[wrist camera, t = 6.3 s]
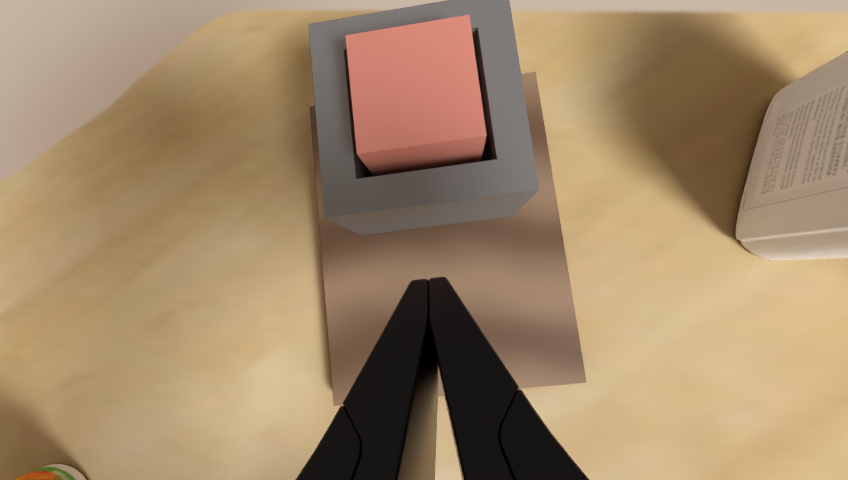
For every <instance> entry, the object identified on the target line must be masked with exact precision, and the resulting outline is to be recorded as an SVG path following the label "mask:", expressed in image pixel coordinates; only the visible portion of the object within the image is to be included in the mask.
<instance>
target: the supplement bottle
mask: <svg viewBox="0 0 848 480" xmlns="http://www.w3.org/2000/svg"><path fill="white" fill-rule="evenodd" d="M14 480H86V478H85V477H84V476H83V475H82V474H81V473H80V472H79V471H78V470H76V469H75V468H73V467H70V466H68V465H64V464H51V465H47V466H44V467H41V468H39V469H36V470H34V471H32V472H29V473H27V474H25V475H23V476H21V477H18V478H16V479H14Z"/></svg>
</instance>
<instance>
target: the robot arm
mask: <svg viewBox="0 0 848 480" xmlns="http://www.w3.org/2000/svg"><path fill="white" fill-rule="evenodd" d="M438 366H439V371H440V376H441V381H442V386H443V391H444V395H445V400H446V405H447V410H448V414H449V419H450V424H451V428H452V433H453V438H454V443H455V447H456V452H457V457H458V462H459V466H460V471H461V476H462V480H589V479H588V478H587V476H586V475H585V474H584V473H583V472H582V470H581V469H580V468H579V467H578V466H577V464H576V463H575V462H574V461H573V460H572V458H571V457H570V456H569V455H568V453H567V452H566V451H565V450H564V448H563V447H562V446H561V445H560V443H559V442H558V441H557V440H556V438H555V437H554V436H553V434H552V433H551V432H550V431H549V429H548V428H547V426H546V425H545V424H544V422H543V421H542V419H541V418H540V416H539V415H538V414H537V412H536V411H535V409H534V408H533V407H532V405H531V404H530V402H529V401H528V399H527V398H526V396H525V395H524V393H523V392H522V390H519V386H518V384H517V383H516V381H515V380H514V378H513V377H512V375H511V374H510V372H509V371H508V369H507V368H506V366H505V365H504V363H503V362H502V360H501V359H500V357H499V356H498V354H497V353H496V351H495V350H494V348H493V347H492V345H491V344H490V342H489V341H488V339H487V338H486V336H485V335H484V333H483V332H482V330H481V329H480V327H479V326H478V324H477V323H476V321H475V320H474V318H473V317H472V315H471V314H470V312H469V311H468V309H467V308H466V306H465V305H464V303H463V302H462V300H461V299H460V297H459V296H458V294H457V293H456V291H455V290H454V288H453V287H452V285H451V284H450V282H449V281H448V279H447V278H446V277H435V278H430V279H429V281H428V280H427V279H418V280H412V281H411V282H410V283H409V285H408V287H407V289H406V290H405V292H404V294H403V296H402V297H401V299H400V301H399V303H398V305H397V306H396V308H395V310H394V312H393V314H392V315H391V317H390V319H389V321H388V323H387V324H386V326H385V328H384V330H383V331H382V333H381V335H380V337H379V339H378V340H377V342H376V344H375V346H374V348H373V349H372V351H371V353H370V355H369V357H368V358H367V360H366V362H365V364H364V365H363V367H362V369H361V371H360V373H359V374H358V376H357V378H356V380H355V382H354V383H353V385H352V387H351V389H350V391H349V392H348V394H347V396H346V398H345V399H344V401H343V406H341V407H340V408H339V410H338V412H337V413H336V415H335V417H334V419H333V421H332V422H331V424H330V426H329V428H328V429H327V431H326V433H325V434H324V436H323V438H322V439H321V441H320V443H319V444H318V446H317V448H316V450H315V451H314V453H313V454H312V456H311V457H310V459H309V460H308V462H307V463H306V465H305V466H304V468H303V469H302V471H301V472H300V474H299V475H298V477H297V478H296V480H435V457H436V430H437V403H438Z"/></svg>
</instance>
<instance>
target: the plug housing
mask: <svg viewBox="0 0 848 480" xmlns="http://www.w3.org/2000/svg"><path fill="white" fill-rule="evenodd" d="M464 15H470V22H471V29H472V36H473V43H474V50H475V57H476V64H477V71H478V78H479V85H480V92H481V99H482V106H483V113H484V120H485V127H486V134H487V136H486V141H485V145H484V149H483V154H482V158H481V162H475V163H468V164H460V165H453V166H446V167H439V168H432V169H424V170H417V171H410V172H403V173H396V174H388V175H381V176H373V174H372V173H371V172H370V170H369V169H368V168H367V167H366V165H365V164H364V163H363V161H362V160H361V159H360V158H359V156H358V155H357V150H356V140H355V129H354V119H353V109H352V98H351V88H350V77H349V67H348V56H347V46H346V36H345V35H351V34H357V33H363V32H369V31H375V30H381V29H387V28H393V27H398V26H404V25H410V24H416V23H422V22H428V21H434V20H440V19H446V18H452V17H458V16H464ZM309 36H310V49H311V61H312V73H313V85H314V97H315V109H316V121H317V133H318V145H319V157H320V169H321V181H322V194H323V206H324V218H326V219H328V220H330V221H332V222H334V223H336V224H338V225H341V226H343V227H345V228H347V229H349V230H351V231H353V232H355V233H357V234H360V235H368V234H376V233H384V232H391V231H399V230H407V229H415V228H423V227H431V226H439V225H446V224H454V223H462V222H470V221H478V220H486V219H494V218H501V217H509V216H514V215H515V214H516V213H517V212H518V211H519V210H520V209H521V208H522V207H523V206H524V205H525V204H526V203H527V202H528V201H529V200H530V199H531V198H532V197H533V196H534V195H535V194H536V193H537V192H538V190H539V184H538V178H537V172H536V165H535V159H534V153H533V147H532V140H531V134H530V128H529V121H528V115H527V109H526V102H525V96H524V90H523V84H522V77H521V71H520V65H519V58H518V52H517V46H516V39H515V33H514V27H513V21H512V14H511V8H510V2H509V0H447V1H441V2H436V3H430V4H424V5H418V6H412V7H406V8H400V9H394V10H389V11H383V12H377V13H371V14H365V15H360V16H354V17H348V18H342V19H336V20H330V21H325V22H319V23H313V24H309Z"/></svg>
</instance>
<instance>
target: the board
mask: <svg viewBox="0 0 848 480" xmlns="http://www.w3.org/2000/svg"><path fill="white" fill-rule="evenodd" d="M521 77H522V84H523V90H524V96H525V102H526V109H527V115H528V121H529V128H530V134H531V140H532V147H533V153H534V159H535V165H536V172H537V178H538V184H539V190H538V192H537V193H536V194H535V195H534V196H533V197H532V198H531V199H530V200H529V201H528V202H527V203H526V204H525V205H524V206H523V207H522V208H521V209H520V210H519V211H518V212H517V213H516V214H515V215H514V216H509V217H501V218H494V219H486V220H478V221H470V222H462V223H454V224H446V225H439V226H431V227H423V228H415V229H407V230H399V231H391V232H384V233H376V234H368V235H360V234H357V233H355V232H353V231H351V230H349V229H347V228H345V227H343V226H341V225H338V224H336V223H334V222H332V221H330V220H328V219H326V218H324V206H323V194H322V181H321V169H320V157H319V145H318V133H317V121H316V109H315V106H313V107H310V116H311V129H312V141H313V154H314V166H315V178H316V191H317V203H318V215H319V228H320V240H321V253H322V265H323V277H324V290H325V302H326V315H327V327H328V339H329V352H330V364H331V377H332V389H333V401H334V406H338V405H343V401H344V399H345V398H346V396H347V394H348V392H349V391H350V389H351V387H352V385H353V383H354V382H355V380H356V378H357V376H358V374H359V373H360V371H361V369H362V367H363V365H364V364H365V362H366V360H367V358H368V357H369V355H370V353H371V351H372V349H373V348H374V346H375V344H376V342H377V340H378V339H379V337H380V335H381V333H382V331H383V330H384V328H385V326H386V324H387V323H388V321H389V319H390V317H391V315H392V314H393V312H394V310H395V308H396V306H397V305H398V303H399V301H400V299H401V297H402V296H403V294H404V292H405V290H406V289H407V287H408V285H409V283H410V282H411V281H412V280H418V279H427V280H428V281H429V279H430V278H435V277H446V278H447V279H448V281H449V282H450V284H451V285H452V287H453V288H454V290H455V291H456V293H457V294H458V296H459V297H460V299H461V300H462V302H463V303H464V305H465V306H466V308H467V309H468V311H469V312H470V314H471V315H472V317H473V318H474V320H475V321H476V323H477V324H478V326H479V327H480V329H481V330H482V332H483V333H484V335H485V336H486V338H487V339H488V341H489V342H490V344H491V345H492V347H493V348H494V350H495V351H496V353H497V354H498V356H499V357H500V359H501V360H502V362H503V363H504V365H505V366H506V368H507V369H508V371H509V372H510V374H511V375H512V377H513V378H514V380H515V381H516V383H517V384H518V386H519V389H520V388H531V387H542V386H553V385H563V384H574V383H585V382H586V377H585V371H584V365H583V359H582V353H581V346H580V340H579V334H578V328H577V322H576V316H575V310H574V304H573V298H572V292H571V286H570V279H569V273H568V267H567V261H566V255H565V249H564V243H563V237H562V231H561V225H560V219H559V212H558V206H557V200H556V194H555V188H554V182H553V176H552V170H551V164H550V158H549V152H548V145H547V139H546V133H545V127H544V121H543V115H542V109H541V103H540V97H539V91H538V85H537V78H536V72H532V73H526V74H521ZM438 396H445V395H444V391H443V386H442V381H441V376H440V371H439V366H438Z"/></svg>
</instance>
